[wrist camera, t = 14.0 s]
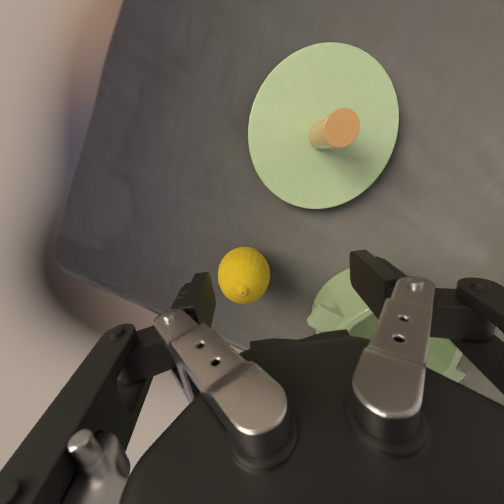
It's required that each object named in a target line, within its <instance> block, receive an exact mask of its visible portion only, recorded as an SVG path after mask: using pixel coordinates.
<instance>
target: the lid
mask: <svg viewBox="0 0 504 504" xmlns="http://www.w3.org/2000/svg"><path fill="white" fill-rule="evenodd" d="M398 125H399V108H398V102H397V96H396V93H395V90H394V87H393V84H392V82H391V80H390V78H389V76H388V75H387V73H386V72H385V70H384V68H383V67H382V66H381V65H380V64H379V63H378V62H377V61H376V60H375V59H374V58H373V57H372V56H370V55H369V54H368V53H366V52H364V51H363V50H361V49H359V48H357V47H354V46H351V45H348V44H343V43H330V42H327V43H320V44H314V45H311V46H308V47H305V48H303V49H301V50H298V51H296V52H294V53H293V54H291V55H290V56H288V57H287V58H285V59H284V60H283V61H282V62H281V63H280V64H278V65H277V66H276V67H275V68H274V70H273V71H272V72H271V73H270V74H269V75H268V77H267V78H266V80H265V81H264V82H263V84H262V86H261V87H260V89H259V91H258V93H257V95H256V98H255V100H254V103H253V106H252V110H251V114H250V118H249V126H248V142H249V150H250V154H251V159H252V162H253V164H254V167H255V169H256V171H257V173H258V175H259V177H260V178H261V180H262V181H263V183H264V184H265V185H266V186H267V188H268V189H269V190H270V191H271V192H272V193H274V194H275V195H276V196H277V197H279V198H280V199H282V200H283V201H285V202H287V203H289V204H292V205H294V206H298V207H301V208H308V209H324V208H330V207H334V206H338V205H340V204H343V203H346V202H347V201H349V200H351V199H353V198H355V197H356V196H358V195H359V194H361V193H362V192H363V191H364V190H366V189H367V188H368V187H369V186H370V185H371V184H372V183H373V182H374V181H375V180H376V179H377V177H378V176H379V175H380V173H381V172H382V171H383V169H384V167H385V166H386V164H387V162H388V160H389V158H390V156H391V154H392V151H393V148H394V145H395V142H396V138H397V133H398Z"/></svg>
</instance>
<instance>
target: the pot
mask: <svg viewBox="0 0 504 504" xmlns="http://www.w3.org/2000/svg"><path fill="white" fill-rule="evenodd" d="M377 321H378V319H377V318H376V316H375V315H374V314H373V313H372V311H371V310H370V309H369V307H368V306H367V305H366V304H365V302H364V301H363V300H362V299H361V297H360V296H359V295H358V294H357V292H356V291H355V290H354V289H353V287H352V285H351V281H350V268H349V269H346V270H344V271H342V272H340V273H338V274H337V275H335V276H334V277H332V278H331V279H330V280H329V281H327V282H326V283H325V284H324V285H323V287H322V288H321V289H320V290H319V292H318V294H317V295H316V297H315V300H314V302H313V306H312V311H311V314H310V316H309V317H308V319H307V322H308V325H309V326H310V327H313V328H314V331H315V334H318V333H321V332H327V331H335V330H343V329H347V331H348V333H349V334H350V336H355V337H362V338H366V339H369V340H370V339H371V337H372V334H373V331H374V329H375V326H376V324H377ZM462 354H463V353H462V352H461V351H460V350H459V349H458V348H457V347H456V346H455V345H454V344H453V343H452V342H451V341H450V339H445V338H435V337H429V345H428V354H427V362H426V367H428V368H430V369H432V370H434V371H436V372H438V373H440V374H442V375H444V376H446V377H448V378H450V379H452V380H454V381H456V382H458V383H459V382H460V381H461V380H462V379H463V378H464V377H465V376H466V375H467V374H466V373H465V372H464V371H463V370H462V369H461V368H460V367H457V365H458V363H459V361H460V359H461V357H462Z"/></svg>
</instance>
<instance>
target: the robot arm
mask: <svg viewBox="0 0 504 504" xmlns="http://www.w3.org/2000/svg"><path fill="white" fill-rule="evenodd" d="M350 281H351V285H352V287H353V289H354V290H355V291H356V292H357V294H358V295H359V296H360V297H361V299H362V300H363V301H364V302H365V304H366V305H367V306H368V307H369V309H370V310H371V311H372V313H373V314H374V315H375V316H376V318H377V319H378V321H377V324H376V326H375V329H374V331H373V334H372V337H371V339H370V340H369V339H366V338H362V337H355V336H350V334H349V333H348V331H347V329H343V330H335V331H327V332H321V333H318V334H315V335H312V336H309V337H306V338H303V339H300V340H293V339H275V338H273V339H265V340H258V341H250V349H248V350H246V351H243V352H241V353H239V354H238V353H237V352H236V351H235V350H234V349H233V348H232V347H231V346H230V345H229V344H228V343H226V342H225V341H224V340H223V339H222V338H221V337H220V336H219V335H218V334H217V333H216V332H215V331H213V330H212V329H211V324H212V319H213V315H214V311H215V306H216V300H215V294H214V290H213V286H212V282H211V277H210V274H209V272H204V273H197V274H195V275H194V277H193V279H192V281H191V283H187V284H186V285H184V286H183V287H182V288H181V290H180V291H179V293H178V295H177V297H176V299H175V301H174V303H173V305H172V307H171V309H170V310H167V311H165V312H163V313H161V314H160V315H158V316H157V317H156V318H155V320H154V325H153V326H151V327H148V328H145V329H142V330H139V331H136V330H135V327H134V325H132V324H122V325H119V326H116V327H114V328H112V329H110V330H109V331H107V332H106V333H105V334H104V335H103V336H102V337H101V338H100V339H99V341H98V342H97V344H96V345H95V346H94V347H93V349H92V350H91V352H90V353H89V354H88V355H87V357H86V358H85V360H84V361H83V362H82V363H81V365H80V366H79V367H78V369H77V370H76V371H75V373H74V374H73V375H72V377H71V378H70V380H69V381H68V382H67V383H66V385H65V386H64V387H63V389H62V390H61V391H60V393H59V394H58V396H57V397H56V398H55V399H54V401H53V402H52V403H51V405H50V406H49V407H48V409H47V410H46V411H45V413H44V414H43V415H42V417H41V418H40V419H39V421H38V422H37V423H36V425H35V426H34V427H33V429H32V430H31V431H30V433H29V434H28V435H27V437H26V438H25V439H24V441H23V442H22V443H21V445H20V446H19V448H18V449H17V450H16V451H15V453H14V454H13V456H12V457H11V458H10V460H9V461H8V462H7V463H6V465H5V466H4V467H3V469H2V470H1V471H0V504H504V406H503V405H501V404H499V403H497V402H495V401H493V400H491V399H489V398H487V397H485V396H483V395H481V394H479V393H477V392H475V391H473V390H471V389H469V388H467V387H465V386H464V385H462V384H460V383H458V382H456V381H454V380H452V379H450V378H448V377H446V376H444V375H442V374H440V373H438V372H436V371H434V370H432V369H430V368H428V367H426V362H427V354H428V345H429V337H435V338H445V339H450V341H451V342H452V343H453V344H454V345H455V346H456V347H457V348H458V349H459V350H460V351H461V352H462V353H463V354H464V355H465V356H466V357H467V358H468V359H469V360H470V361H471V362H472V363H473V364H474V365H475V366H476V367H477V368H478V369H479V370H480V371H481V372H482V373H483V374H484V375H485V376H486V377H487V378H488V379H489V380H490V381H491V382H492V383H493V384H494V385H495V386H496V387H497V388H498V389H499V390H500V391H501V392H502V393H503V394H504V342H503V341H501V340H500V339H499V338H498V337H496V336H495V335H494V331H495V327H496V326H497V327H498V328H499V329H500V330H501V331H502V332H503V333H504V287H503V286H502V285H500V284H498V283H496V282H493V281H490V280H486V279H481V278H463V279H460V280H459V281H458V282H457V288H456V289H441V288H435V285H434V283H433V282H431V281H429V280H427V279H424V278H420V277H412V276H409V277H408V276H406V275H405V274H404V273H402V272H401V271H400V270H399V269H397V268H396V267H395V266H393V265H391V263H389V262H388V261H387V260H385V259H382V258H379V257H377V256H376V257H374V256H373V255H372V254H370V253H369V252H368V251H367V250H358V251H351V252H350ZM168 370H171V373H172V374H173V376H174V377H175V379H176V381H177V383H178V384H179V386H180V388H181V389H182V391H183V392H184V394H185V396H186V397H187V399H188V401H189V405H188V406H187V407H186V408H185V409H184V410H183V411H182V413H181V414H180V415H179V416H178V417H177V418H176V419H175V420H174V421H173V422H172V423H171V425H170V426H169V427H168V428H167V429H166V430H165V431H164V432H163V433H162V434H161V435H160V437H159V438H158V439H157V440H156V441H155V442H154V443H153V444H152V445H151V446H150V447H149V449H148V450H147V451H146V452H145V453H144V454H143V456H142V457H141V458H140V459H139V461H138V462H137V464H136V465H135V467H134V468H133V470H132V472H131V474H130V475H129V473H130V462H129V459H128V457H127V455H126V453H125V451H126V449H127V446H128V443H129V441H130V438H131V435H132V433H133V430H134V427H135V425H136V422H137V419H138V417H139V414H140V411H141V409H142V406H143V403H144V401H145V398H146V395H147V393H148V390H149V387H150V384H151V381H152V379H153V376H155V375H157V374H160V373H163V372H165V371H168ZM117 379H118V380H117Z"/></svg>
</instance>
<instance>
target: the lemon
mask: <svg viewBox="0 0 504 504" xmlns="http://www.w3.org/2000/svg"><path fill="white" fill-rule="evenodd" d="M269 280H270V269H269V265H268V263H267V261H266V259H265V257H264V256H263V255H262V254H261V253H260V252H259V251H257V250H255V249H253V248H250V247H238V248H236V249H233V250H232V251H230V252H229V253H227V254H226V256H225V257H224V258H223V259H222V261H221V263H220V266H219V270H218V281H219V285H220V288H221V290H222V292H223V293H224V295H225V296H226V297H227V298H228V299H230V300H231V301H233V302H236V303H240V304H247V303H252V302H254V301H256V300H258V299H259V298H260V297H261V296H262V295H263V294H264V293H265V291H266V289H267V287H268V284H269Z"/></svg>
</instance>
